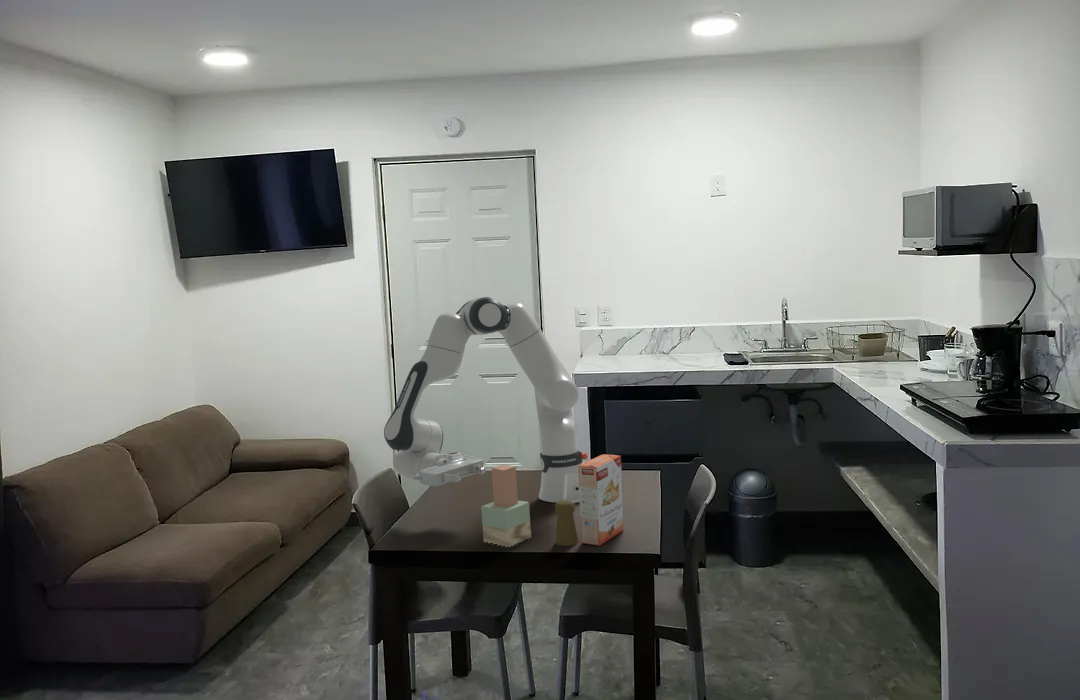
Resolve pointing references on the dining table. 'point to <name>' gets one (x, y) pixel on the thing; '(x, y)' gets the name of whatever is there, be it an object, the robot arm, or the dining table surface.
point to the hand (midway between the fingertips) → (471, 474)
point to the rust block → (504, 485)
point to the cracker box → (600, 499)
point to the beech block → (507, 534)
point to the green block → (505, 515)
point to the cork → (565, 524)
